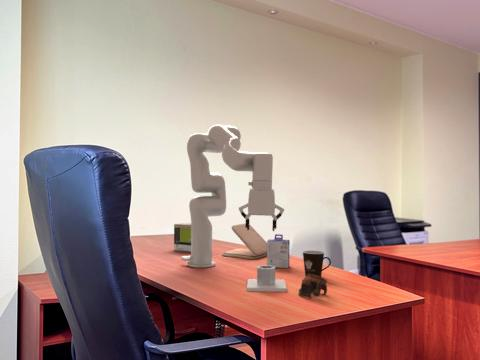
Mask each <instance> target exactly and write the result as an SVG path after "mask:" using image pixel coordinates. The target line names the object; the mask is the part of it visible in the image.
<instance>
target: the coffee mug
mask: <svg viewBox="0 0 480 360" xmlns="http://www.w3.org/2000/svg"><path fill="white" fill-rule="evenodd" d="M302 258H303V267H304V276H305V277H306V275H307V274H313V275H317V276H320V277H322V275H323V274H322V272H323V271H325V270H326V269H328V268H330V266H331V264H332V260H331V258H329V256H325V252H324V251H322V250H303V251H302ZM325 259H327V260H328V261H329V264H328V265H327V266H325V267H324V268H323V264H324V260H325ZM305 277H304V278H305Z"/></svg>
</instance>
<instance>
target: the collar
mask: <svg viewBox="0 0 480 360" xmlns="http://www.w3.org/2000/svg"><path fill="white" fill-rule="evenodd" d="M256 270H257V271H256V272H257V274H256V279H257V284H259V285H267V286H270V285H275V279H276V267H275V266H270V265H267V264H266V265H257V266H256Z"/></svg>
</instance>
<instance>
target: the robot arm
mask: <svg viewBox="0 0 480 360" xmlns="http://www.w3.org/2000/svg"><path fill="white" fill-rule="evenodd" d="M241 136H242V135H241V131H240V129H239V128H237V127H236V126H232V125H224V124H215V125H212V126H211V127H210V128H209V129H208V131H207V133H204V132H203V133H202V132H201V133H200V132H199V133H194V134H191V135H190V136H189V137H188V140H187V143H186V151H187V152H186V153H187V156H188V159H189V165H190V181H191V188H192V191H193V192H194V193H196V194H197V193H198V194H211V195H197V196H194V197H193V198H191V199H190V201H189V205H188V206H189V207H188V208H189V214H190V223H191V252H190V253H191V254H190V255H182V256H181V261H187V266H188V267H190V268H191V267H192V268H197V269H198V268H199V269H201V268H202V269H203V268H212V267H215V266H216V262H215V261H213V224H212V222H211V221H210V219H209V217H220V216H221V217H222V216H223V215H224V214H225V213H226V211H227V193H226V181H225V178H224V176H223V175H222V174H221V173H220V172H211V171H210V164H209V163H210V162H209V160H208V159H207V157H206V156H205V154H204V153H210V154H211V153H215V154H220V153H221V158H222V160H223V162H224V164H225V165H227V166H228V167H229V168H230V169H232V171H233V170H234V171H235V172H251V173H252V179H251V180H252V181H248V186H250V187H252V188H249V192H248V202H247V203H245V204H243V205H241V206H240V207H238V211H239V214H240V215H241V216H242V217H243V219H244V220H245V224H246V225H245V228H247V230H249V225H250V220H251V219H250V218H251V216H264V217H265V216H267V217H268V216H271V217H272V227H271V228H272V232H275V230H277V223H278V219H280V218H281V216H282V215H283V214H284V212H285V208H283V207H281V206H279V205H278V204H276V198H275V197H276V196H275V195H276V194H275V190H274V188H273V166H274V164H273V163H274V161H273V159H274V157H273V154H272V153H270V152H253V151H250V152H249V151H239V150H240V149H241V146H242V145H241V138H242V137H241ZM244 209H247V212H248V213H247V214H246V213H245V211H244ZM276 210H278V211H279V212H278V213H277V214H275V213H276Z"/></svg>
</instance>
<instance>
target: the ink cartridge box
mask: <svg viewBox="0 0 480 360" xmlns="http://www.w3.org/2000/svg"><path fill="white" fill-rule="evenodd" d="M283 237H284V235H283V234H280V233H279V234H278V233H276V234H274V239H272V238H270V239H268V240H267V241H266V242H267V256H266V265H270V266H275V268H279V269H280V268H281V269H283V268H284V269H288V268H289V267H290V251H291V250H290V248H291V247H290V243H291V242H290V239H284V238H283Z"/></svg>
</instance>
